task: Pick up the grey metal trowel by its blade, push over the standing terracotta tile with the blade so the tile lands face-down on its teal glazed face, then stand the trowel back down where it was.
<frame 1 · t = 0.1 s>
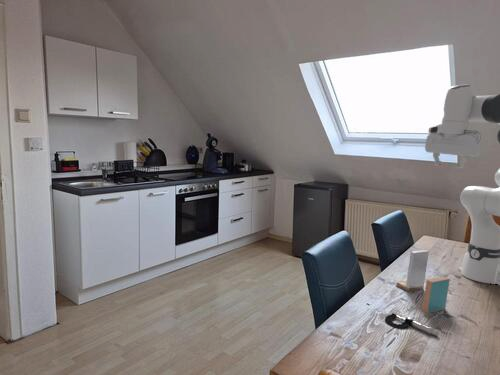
hand: (448, 166, 139), 48 cm above the table, fingers open, 8 cm apart
tile: (433, 309, 127), on the table
micrometer: (408, 330, 114), on the table
trowel: (414, 289, 143), on the table
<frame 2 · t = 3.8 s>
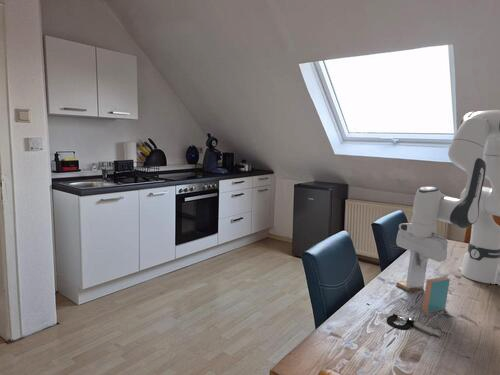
hand: (418, 264, 141), 10 cm above the table, fingers closed on trowel
trowel: (414, 289, 143), on the table, touching gripper
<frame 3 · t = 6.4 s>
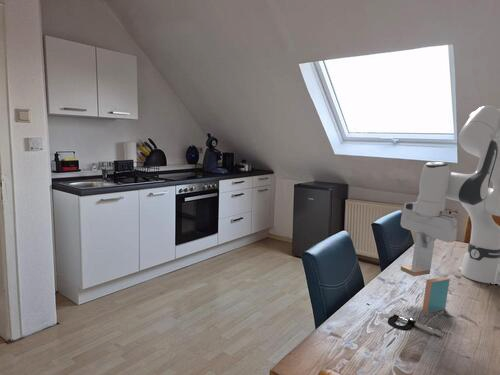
hand: (424, 247, 130), 20 cm above the table, fingers closed on trowel
trowel: (420, 274, 132), point 10 cm above the table, touching gripper
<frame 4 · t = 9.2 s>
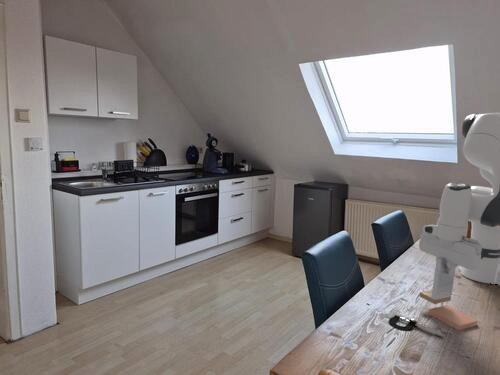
hand: (445, 272, 123), 14 cm above the table, fingers closed on trowel
tile: (437, 309, 126), point 1 cm above the table, tilted 90°
trowel: (440, 301, 125), point 4 cm above the table, touching gripper
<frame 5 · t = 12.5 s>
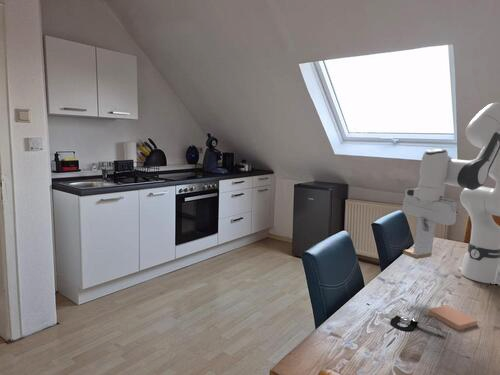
hand: (425, 230, 137), 24 cm above the table, fingers closed on trowel
trowel: (422, 257, 138), point 14 cm above the table, touching gripper
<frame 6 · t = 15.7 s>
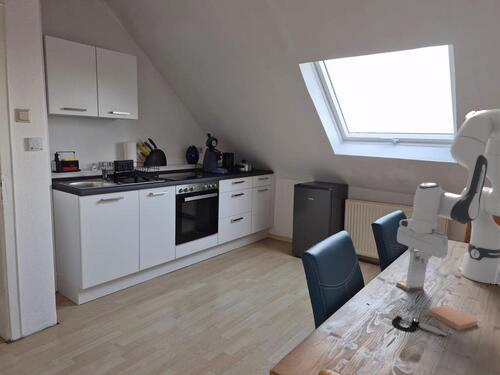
hand: (418, 261, 141), 12 cm above the table, fingers open, 4 cm apart
trowel: (414, 289, 143), on the table
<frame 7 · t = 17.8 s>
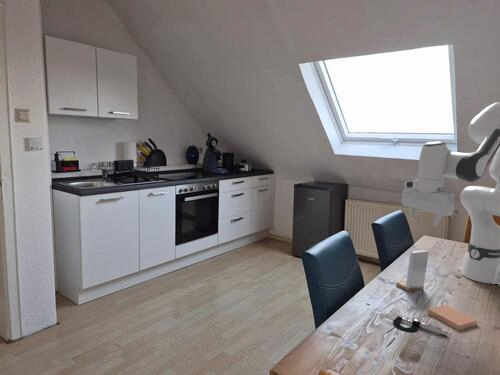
hand: (424, 222, 138), 27 cm above the table, fingers open, 8 cm apart
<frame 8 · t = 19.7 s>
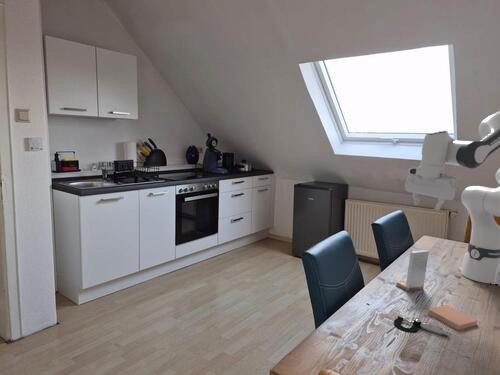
hand: (426, 206, 147), 31 cm above the table, fingers open, 8 cm apart
at the end: tile tilted 90°; the gripper is holding nothing; trowel tilted 0° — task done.
